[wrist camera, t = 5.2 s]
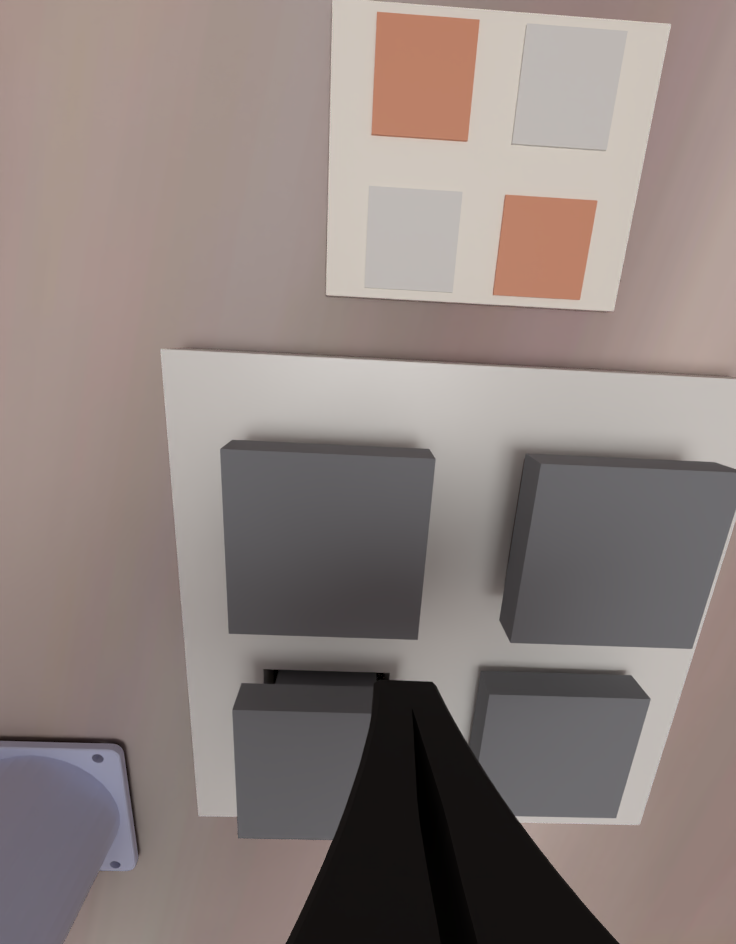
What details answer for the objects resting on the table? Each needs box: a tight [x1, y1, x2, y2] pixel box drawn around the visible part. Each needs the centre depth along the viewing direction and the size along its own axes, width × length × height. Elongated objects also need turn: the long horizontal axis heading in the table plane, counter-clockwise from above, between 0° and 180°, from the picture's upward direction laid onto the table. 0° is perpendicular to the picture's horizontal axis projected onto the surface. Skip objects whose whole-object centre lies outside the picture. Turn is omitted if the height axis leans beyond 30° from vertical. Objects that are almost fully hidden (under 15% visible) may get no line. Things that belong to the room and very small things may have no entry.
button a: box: [232, 670, 377, 840], centre depth 17 cm, size 6×6×3 cm
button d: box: [499, 453, 736, 649], centre depth 15 cm, size 6×6×3 cm
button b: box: [469, 671, 651, 818], centre depth 18 cm, size 6×6×3 cm
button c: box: [220, 440, 436, 640], centre depth 14 cm, size 6×6×3 cm
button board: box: [160, 348, 736, 825], centre depth 18 cm, size 20×20×2 cm
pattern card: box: [326, 0, 671, 312], centre depth 14 cm, size 10×8×1 cm
